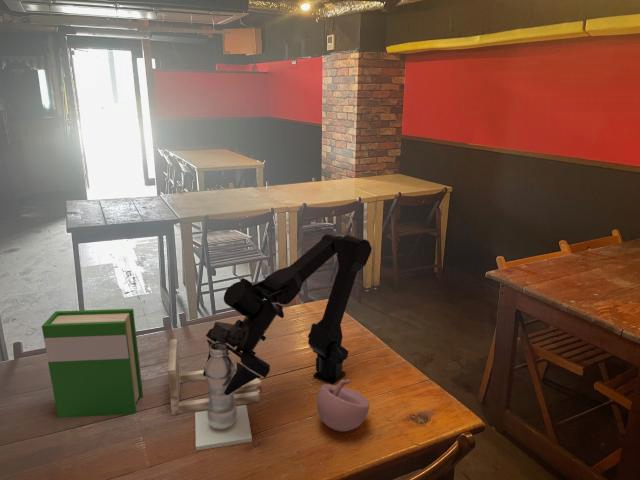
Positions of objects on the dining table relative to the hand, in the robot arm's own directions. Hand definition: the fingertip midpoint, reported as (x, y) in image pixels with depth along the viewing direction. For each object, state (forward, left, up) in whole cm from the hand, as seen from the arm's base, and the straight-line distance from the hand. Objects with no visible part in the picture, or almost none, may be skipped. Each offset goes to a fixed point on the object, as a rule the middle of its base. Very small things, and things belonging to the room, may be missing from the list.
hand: (214, 384), depth 108 cm
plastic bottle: (0, -1, -11) cm, 11 cm away
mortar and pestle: (-22, -18, -12) cm, 31 cm away
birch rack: (+12, -10, -12) cm, 20 cm away
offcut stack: (+7, -16, -12) cm, 22 cm away
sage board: (0, -1, -12) cm, 12 cm away
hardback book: (+29, +11, -12) cm, 33 cm away
